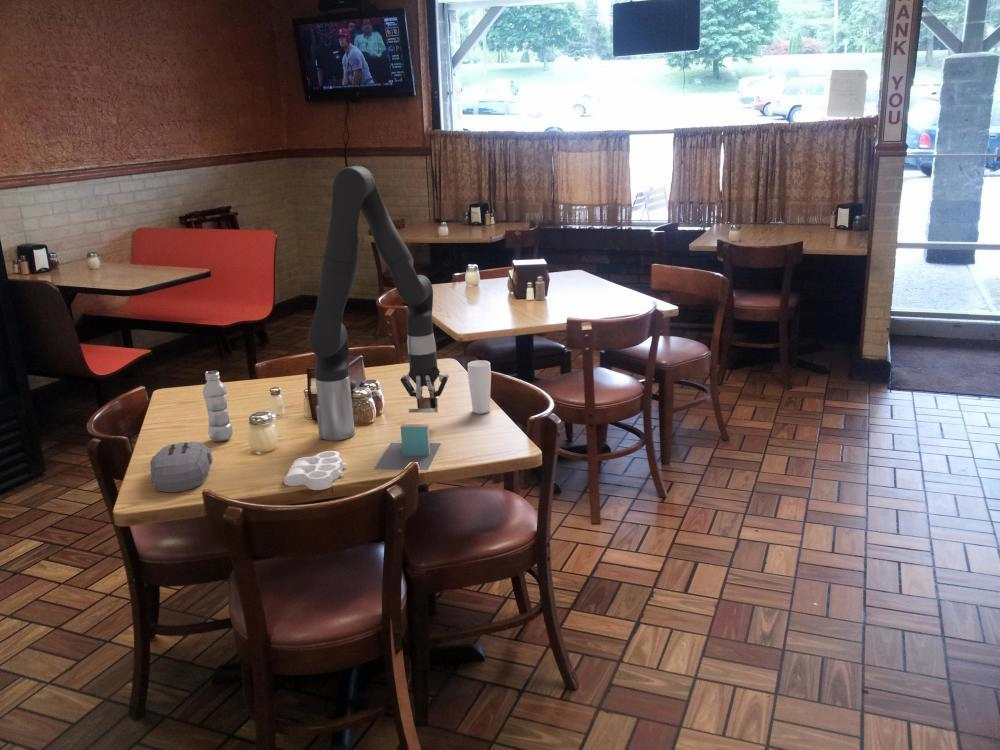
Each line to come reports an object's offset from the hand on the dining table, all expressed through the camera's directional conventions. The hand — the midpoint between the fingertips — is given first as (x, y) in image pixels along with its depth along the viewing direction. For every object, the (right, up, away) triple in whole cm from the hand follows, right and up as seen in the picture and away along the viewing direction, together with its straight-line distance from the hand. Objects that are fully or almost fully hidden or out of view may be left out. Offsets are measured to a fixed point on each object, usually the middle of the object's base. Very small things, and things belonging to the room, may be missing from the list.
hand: (427, 410), depth 244 cm
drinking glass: (+15, -1, +20) cm, 25 cm away
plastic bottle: (-59, -9, +7) cm, 60 cm away
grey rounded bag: (-61, -17, -19) cm, 66 cm away
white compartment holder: (-26, -16, -21) cm, 37 cm away
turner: (0, -1, -1) cm, 1 cm away
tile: (-2, -11, -11) cm, 15 cm away
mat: (-4, -12, -12) cm, 18 cm away
